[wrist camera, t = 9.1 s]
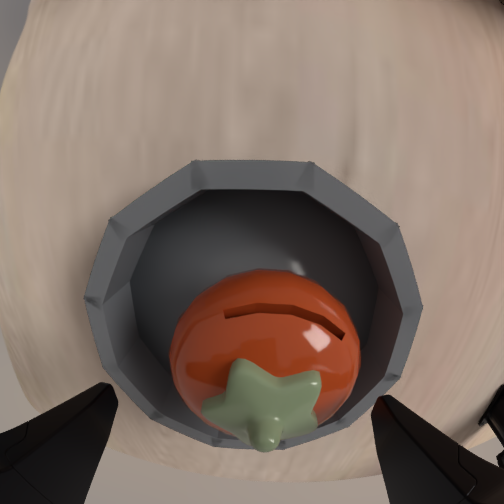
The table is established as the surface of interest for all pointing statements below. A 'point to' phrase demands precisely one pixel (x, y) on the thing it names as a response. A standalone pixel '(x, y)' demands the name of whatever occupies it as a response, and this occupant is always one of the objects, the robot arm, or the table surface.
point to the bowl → (243, 259)
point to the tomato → (264, 356)
